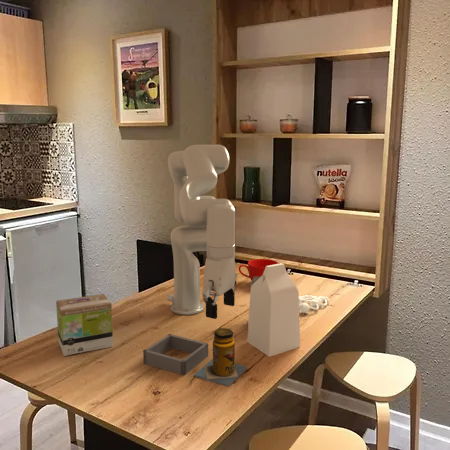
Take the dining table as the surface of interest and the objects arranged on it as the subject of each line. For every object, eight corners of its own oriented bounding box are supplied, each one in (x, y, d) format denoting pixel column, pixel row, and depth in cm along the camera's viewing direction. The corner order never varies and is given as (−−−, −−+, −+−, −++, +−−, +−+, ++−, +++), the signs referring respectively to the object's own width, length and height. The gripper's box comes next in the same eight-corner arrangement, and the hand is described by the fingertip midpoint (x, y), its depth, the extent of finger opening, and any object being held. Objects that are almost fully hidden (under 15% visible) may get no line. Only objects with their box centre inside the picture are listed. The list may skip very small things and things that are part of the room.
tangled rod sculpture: (308, 297, 196) (308, 287, 196) (338, 304, 186) (338, 293, 185) (277, 308, 183) (276, 297, 183) (307, 316, 173) (307, 305, 172)
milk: (269, 356, 144) (271, 273, 138) (247, 342, 153) (248, 263, 148) (300, 347, 150) (303, 266, 144) (277, 333, 159) (279, 257, 154)
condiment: (238, 376, 131) (238, 335, 129) (207, 380, 129) (207, 338, 127) (232, 364, 138) (232, 324, 136) (203, 366, 136) (202, 327, 134)
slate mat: (193, 376, 132) (193, 374, 132) (213, 359, 142) (213, 357, 142) (229, 386, 127) (229, 384, 127) (247, 368, 137) (247, 366, 137)
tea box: (63, 357, 143) (60, 310, 140) (58, 344, 152) (54, 299, 148) (114, 347, 150) (111, 302, 147) (106, 334, 158) (103, 292, 155)
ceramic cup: (240, 279, 214) (240, 257, 212) (278, 281, 212) (279, 259, 210) (236, 289, 202) (237, 266, 199) (277, 291, 199) (278, 268, 197)
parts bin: (143, 363, 139) (143, 350, 139) (169, 345, 150) (169, 333, 150) (184, 375, 133) (183, 362, 132) (208, 355, 144) (208, 343, 143)
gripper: (224, 241, 137) (223, 298, 140) (191, 257, 122) (191, 320, 126) (248, 245, 133) (246, 303, 137) (216, 261, 118) (216, 326, 122)
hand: (220, 311), depth 131 cm, fingers open, 9 cm apart
